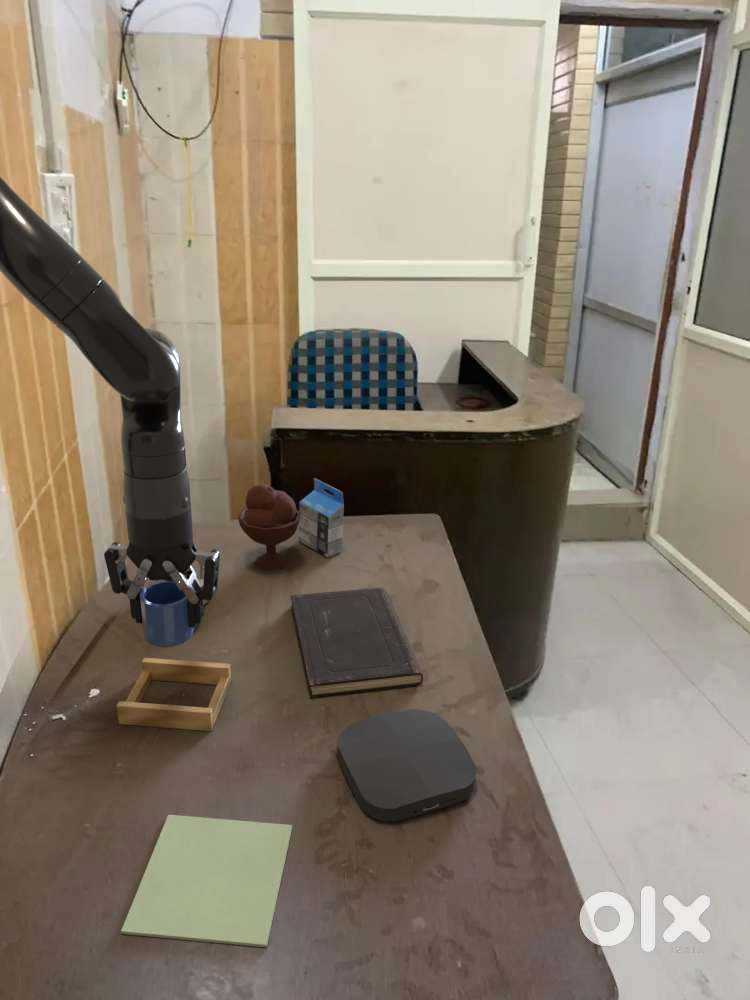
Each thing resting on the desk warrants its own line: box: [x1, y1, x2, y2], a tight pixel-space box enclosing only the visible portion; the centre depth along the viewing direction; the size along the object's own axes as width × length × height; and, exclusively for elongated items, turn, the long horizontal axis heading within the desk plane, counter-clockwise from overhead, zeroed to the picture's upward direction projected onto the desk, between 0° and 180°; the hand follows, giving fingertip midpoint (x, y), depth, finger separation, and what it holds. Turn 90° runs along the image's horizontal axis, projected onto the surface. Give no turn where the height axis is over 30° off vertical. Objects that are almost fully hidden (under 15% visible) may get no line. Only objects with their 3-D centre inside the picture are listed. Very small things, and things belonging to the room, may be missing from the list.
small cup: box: [140, 581, 195, 648], centre depth 96 cm, size 6×6×6 cm
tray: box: [115, 657, 232, 732], centre depth 102 cm, size 12×10×3 cm
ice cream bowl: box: [237, 483, 301, 571], centre depth 134 cm, size 11×11×15 cm
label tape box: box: [298, 477, 345, 558], centre depth 141 cm, size 9×4×12 cm, turn 43°
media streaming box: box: [336, 708, 477, 822], centre depth 92 cm, size 15×15×3 cm
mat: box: [120, 814, 293, 948], centre depth 78 cm, size 14×14×1 cm
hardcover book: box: [290, 587, 424, 699], centre depth 115 cm, size 16×23×2 cm
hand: (168, 621), depth 97 cm, fingers closed on small cup, 6 cm apart
